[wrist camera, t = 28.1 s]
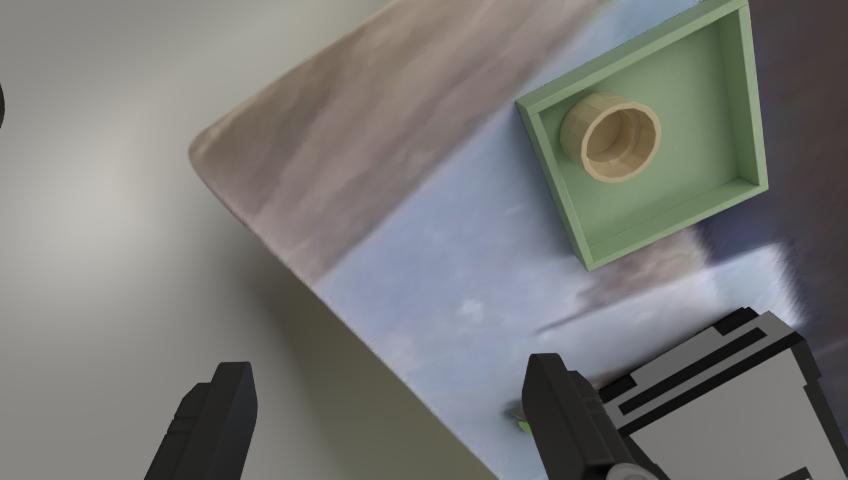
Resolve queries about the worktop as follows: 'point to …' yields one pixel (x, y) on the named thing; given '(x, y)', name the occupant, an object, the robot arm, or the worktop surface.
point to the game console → (730, 407)
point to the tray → (680, 132)
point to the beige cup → (610, 136)
